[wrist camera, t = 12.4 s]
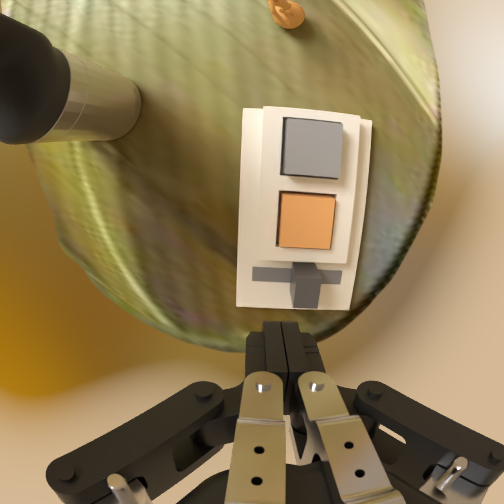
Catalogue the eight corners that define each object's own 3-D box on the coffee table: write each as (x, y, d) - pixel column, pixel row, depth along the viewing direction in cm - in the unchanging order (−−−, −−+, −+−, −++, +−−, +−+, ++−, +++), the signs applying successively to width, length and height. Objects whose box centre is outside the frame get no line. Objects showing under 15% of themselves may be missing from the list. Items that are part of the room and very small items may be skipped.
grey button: (282, 171, 36) (285, 173, 33) (285, 121, 34) (287, 118, 31) (333, 175, 36) (339, 178, 32) (336, 125, 34) (343, 124, 31)
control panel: (236, 301, 44) (234, 315, 41) (243, 109, 36) (241, 105, 32) (346, 305, 44) (353, 318, 40) (368, 121, 36) (378, 119, 32)
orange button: (277, 238, 39) (279, 246, 36) (280, 191, 38) (282, 195, 34) (324, 241, 39) (329, 249, 36) (329, 194, 37) (335, 198, 34)
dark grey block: (289, 290, 42) (292, 308, 37) (292, 262, 40) (296, 277, 36) (311, 290, 42) (317, 308, 37) (314, 263, 40) (321, 278, 36)
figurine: (307, 46, 33) (325, 9, 22) (261, 49, 33) (261, 12, 22) (296, -5, 30) (308, -51, 19) (251, -2, 31) (248, -48, 19)
